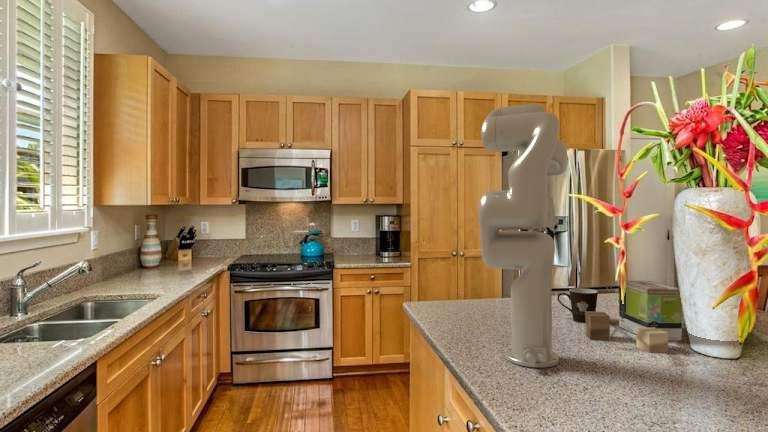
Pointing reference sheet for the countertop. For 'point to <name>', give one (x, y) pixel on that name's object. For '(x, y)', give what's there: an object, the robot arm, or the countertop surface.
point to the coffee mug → (581, 302)
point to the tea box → (651, 308)
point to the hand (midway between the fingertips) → (538, 245)
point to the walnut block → (597, 326)
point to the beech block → (652, 339)
